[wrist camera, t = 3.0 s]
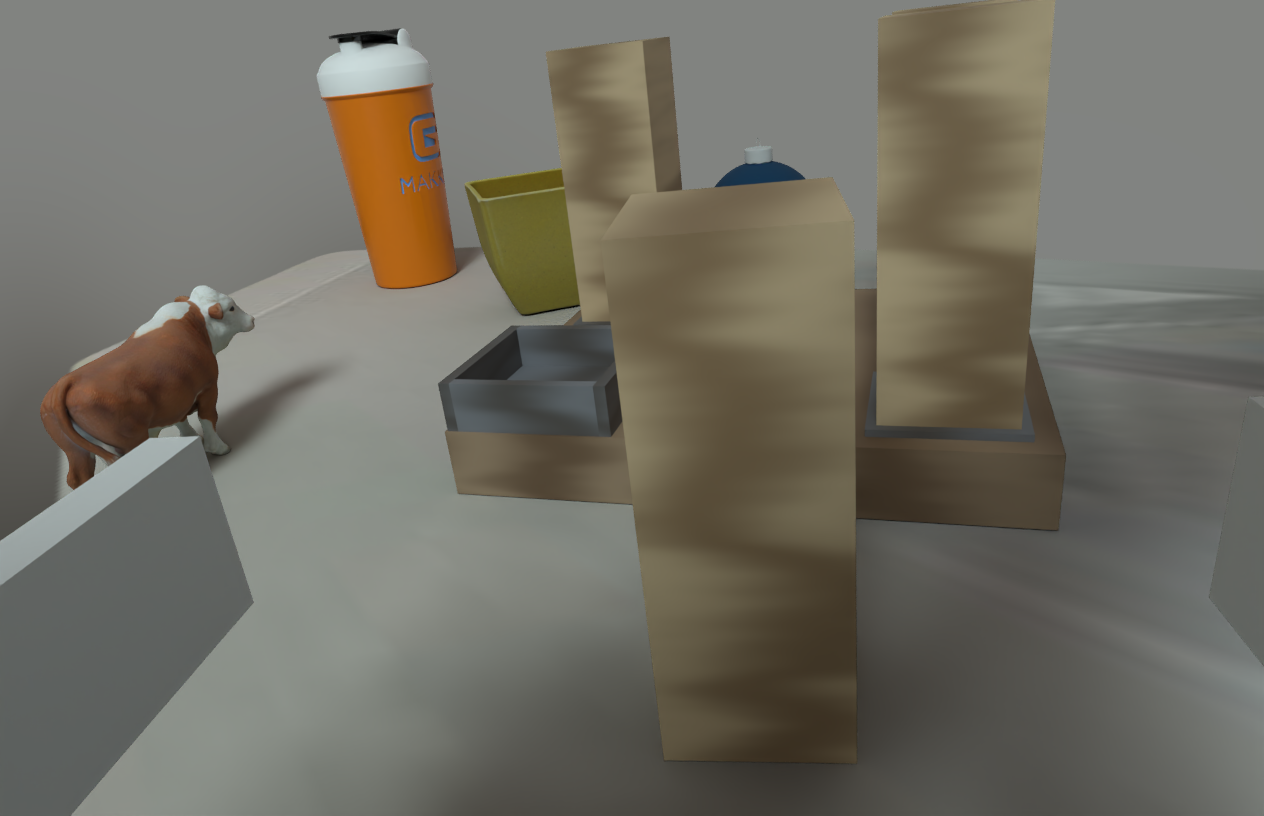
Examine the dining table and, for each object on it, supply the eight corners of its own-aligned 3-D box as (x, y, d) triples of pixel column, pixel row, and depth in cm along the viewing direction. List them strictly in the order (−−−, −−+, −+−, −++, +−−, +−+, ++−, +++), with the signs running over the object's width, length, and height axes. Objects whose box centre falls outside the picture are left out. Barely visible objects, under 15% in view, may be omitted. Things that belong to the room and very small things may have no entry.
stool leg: (839, 637, 27) (832, 177, 21) (857, 763, 22) (854, 220, 17) (678, 638, 28) (631, 194, 22) (663, 760, 23) (600, 240, 18)
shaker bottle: (348, 295, 73) (286, 39, 65) (388, 268, 81) (337, 37, 73) (449, 288, 72) (398, 25, 64) (480, 260, 80) (437, 24, 72)
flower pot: (622, 307, 62) (607, 178, 58) (501, 330, 60) (478, 198, 56) (592, 279, 70) (577, 164, 66) (484, 299, 68) (463, 182, 64)
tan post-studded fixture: (1011, 338, 48) (1035, -6, 41) (1058, 530, 31) (1112, -7, 24) (604, 338, 56) (567, 48, 49) (457, 493, 38) (369, 76, 31)
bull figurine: (295, 411, 50) (255, 273, 47) (136, 539, 38) (67, 364, 34) (227, 414, 51) (183, 277, 47) (50, 539, 39) (-25, 368, 35)
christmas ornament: (802, 294, 60) (797, 144, 56) (690, 290, 64) (679, 150, 60) (834, 262, 67) (832, 126, 63) (732, 260, 70) (724, 132, 66)
